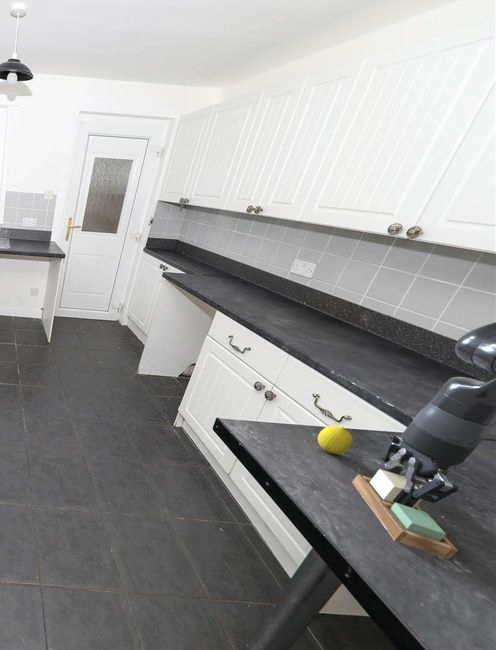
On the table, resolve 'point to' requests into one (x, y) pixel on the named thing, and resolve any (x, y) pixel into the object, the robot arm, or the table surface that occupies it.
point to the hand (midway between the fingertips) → (391, 494)
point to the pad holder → (394, 527)
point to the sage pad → (417, 521)
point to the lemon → (335, 439)
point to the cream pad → (389, 485)
